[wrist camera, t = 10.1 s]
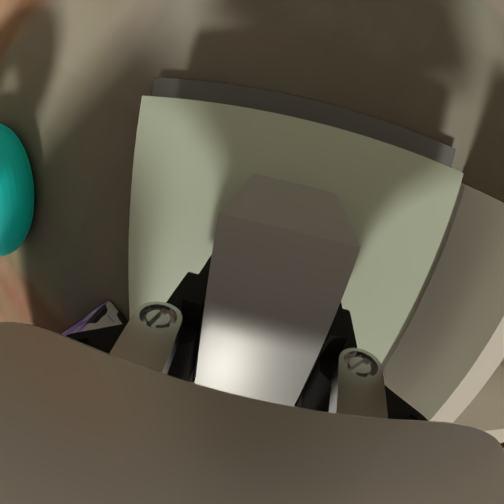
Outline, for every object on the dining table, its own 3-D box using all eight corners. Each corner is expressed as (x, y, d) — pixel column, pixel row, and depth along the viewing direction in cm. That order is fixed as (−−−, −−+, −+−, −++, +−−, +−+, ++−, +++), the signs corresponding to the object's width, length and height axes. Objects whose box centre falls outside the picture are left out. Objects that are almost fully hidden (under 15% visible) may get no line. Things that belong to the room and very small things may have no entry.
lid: (441, 164, 11) (545, 211, 5) (352, 375, 17) (363, 480, 10) (165, 98, 12) (52, 91, 6) (147, 325, 17) (88, 414, 11)
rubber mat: (451, 148, 12) (455, 148, 12) (358, 376, 18) (359, 381, 18) (158, 78, 13) (154, 77, 13) (138, 323, 19) (135, 327, 19)
